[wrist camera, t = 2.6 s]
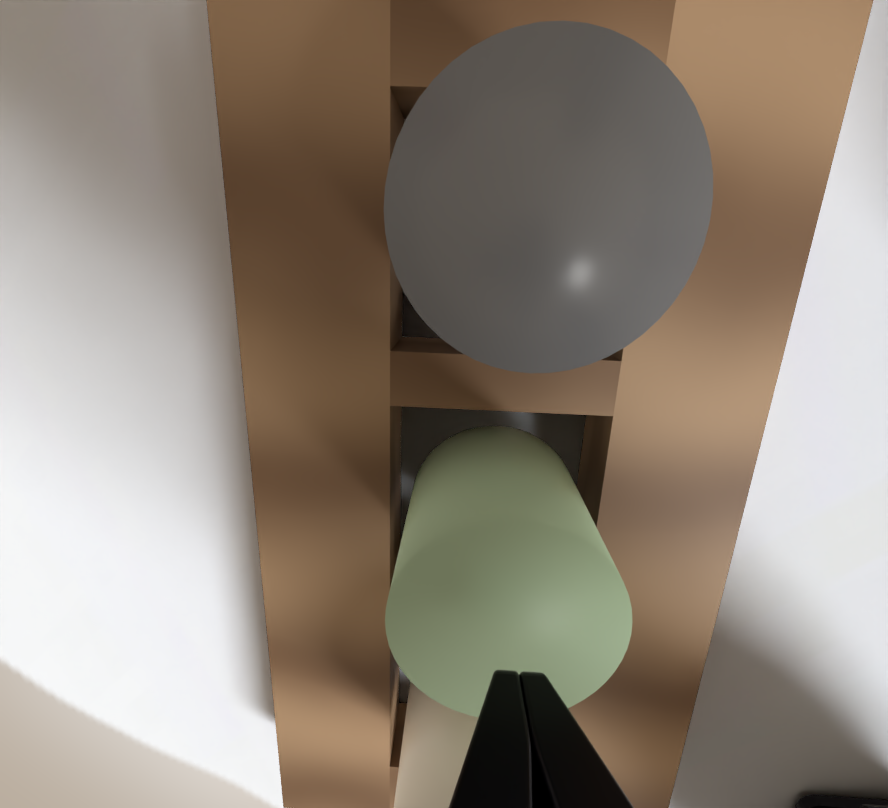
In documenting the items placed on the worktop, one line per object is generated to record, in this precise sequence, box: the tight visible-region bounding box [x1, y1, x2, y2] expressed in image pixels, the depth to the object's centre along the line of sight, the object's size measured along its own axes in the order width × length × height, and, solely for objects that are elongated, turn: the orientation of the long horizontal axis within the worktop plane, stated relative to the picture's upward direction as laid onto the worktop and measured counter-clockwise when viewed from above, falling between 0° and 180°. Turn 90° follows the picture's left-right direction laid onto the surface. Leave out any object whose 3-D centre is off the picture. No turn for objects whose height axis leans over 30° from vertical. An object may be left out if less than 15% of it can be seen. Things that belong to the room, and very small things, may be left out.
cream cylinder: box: [394, 681, 479, 808], centre depth 14 cm, size 5×5×5 cm
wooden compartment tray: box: [207, 0, 873, 808], centre depth 15 cm, size 26×14×2 cm, turn 178°
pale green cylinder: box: [385, 426, 633, 717], centre depth 11 cm, size 5×5×5 cm
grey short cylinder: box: [384, 21, 713, 373], centre depth 9 cm, size 5×5×5 cm
